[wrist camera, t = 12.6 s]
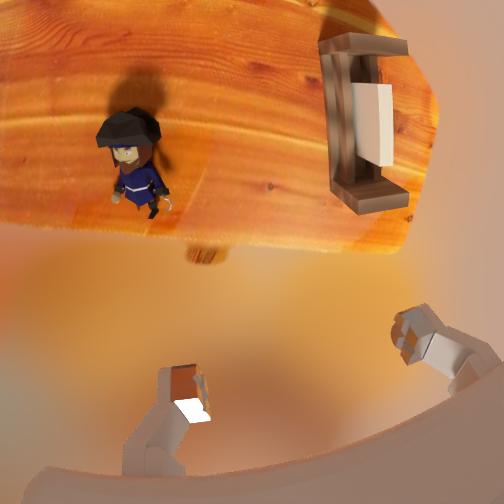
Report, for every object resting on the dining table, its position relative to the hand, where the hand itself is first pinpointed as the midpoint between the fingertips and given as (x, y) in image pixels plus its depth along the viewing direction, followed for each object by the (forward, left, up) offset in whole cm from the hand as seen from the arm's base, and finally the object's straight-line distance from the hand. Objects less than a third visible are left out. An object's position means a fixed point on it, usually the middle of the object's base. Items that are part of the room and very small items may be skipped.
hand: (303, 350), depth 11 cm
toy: (-2, -12, -32) cm, 34 cm away
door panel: (-4, +18, -30) cm, 35 cm away
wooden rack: (-4, +18, -31) cm, 36 cm away
